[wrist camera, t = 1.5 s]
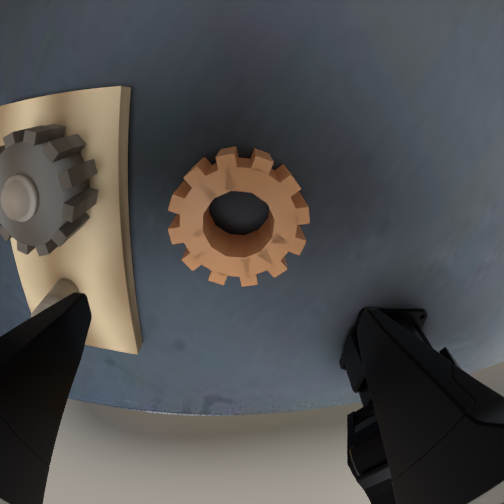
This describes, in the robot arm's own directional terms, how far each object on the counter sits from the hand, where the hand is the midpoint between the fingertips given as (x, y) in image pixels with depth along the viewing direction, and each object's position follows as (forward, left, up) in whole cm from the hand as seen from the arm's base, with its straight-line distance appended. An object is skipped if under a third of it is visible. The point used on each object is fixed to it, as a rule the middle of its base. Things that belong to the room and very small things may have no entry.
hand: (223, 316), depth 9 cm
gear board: (+12, +2, -10) cm, 16 cm away
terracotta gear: (0, 0, -10) cm, 10 cm away
